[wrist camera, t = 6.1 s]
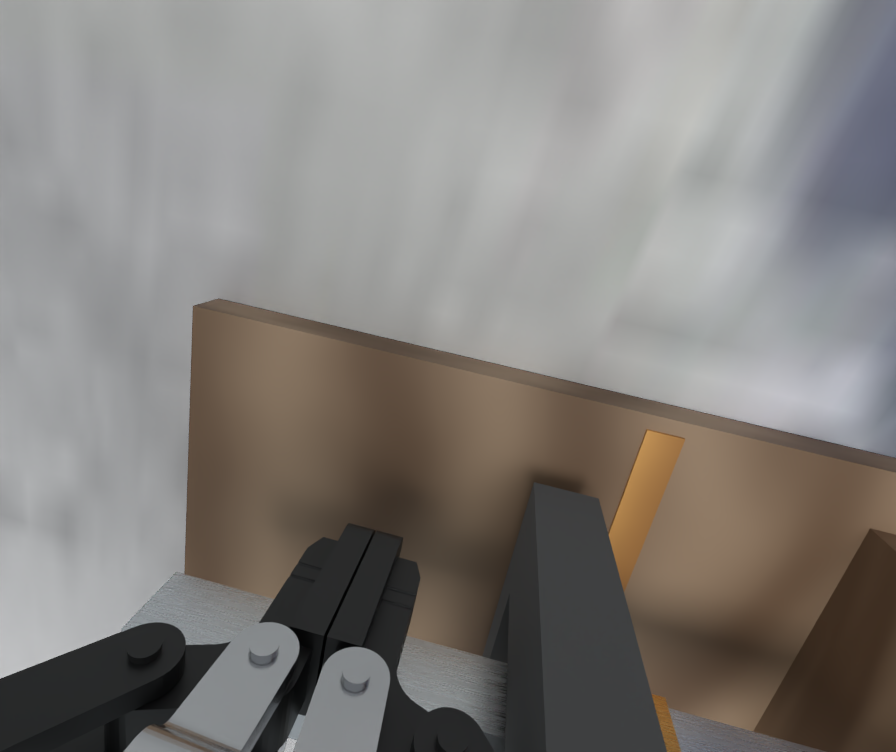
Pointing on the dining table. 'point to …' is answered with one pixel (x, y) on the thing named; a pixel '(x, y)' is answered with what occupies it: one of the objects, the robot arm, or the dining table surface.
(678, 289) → the dining table surface
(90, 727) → the robot arm
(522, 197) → the dining table surface
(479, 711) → the light grey beam
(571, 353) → the dining table surface
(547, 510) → the dark grey block
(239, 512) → the base board
